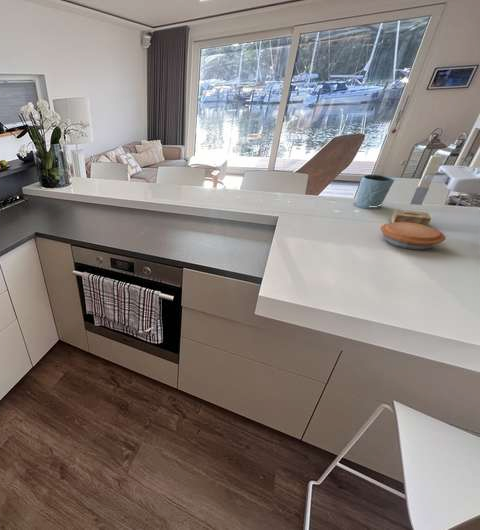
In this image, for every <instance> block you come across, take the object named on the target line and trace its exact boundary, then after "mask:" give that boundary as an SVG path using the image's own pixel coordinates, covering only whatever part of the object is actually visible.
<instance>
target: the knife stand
mask: <svg viewBox="0 0 480 530" xmlns="http://www.w3.org/2000/svg"><path fill="white" fill-rule="evenodd" d="M431 220H432V217H431V215H430V213H429V212H424V211H423V212H422V211H414V210H413V211H412V210H401V209H395V210H394V211H393V214H392V216H391V219H390V221H391V223H394V222H409V223H416V224H422V225H425V226H429V225H430V222H431Z"/></svg>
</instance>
